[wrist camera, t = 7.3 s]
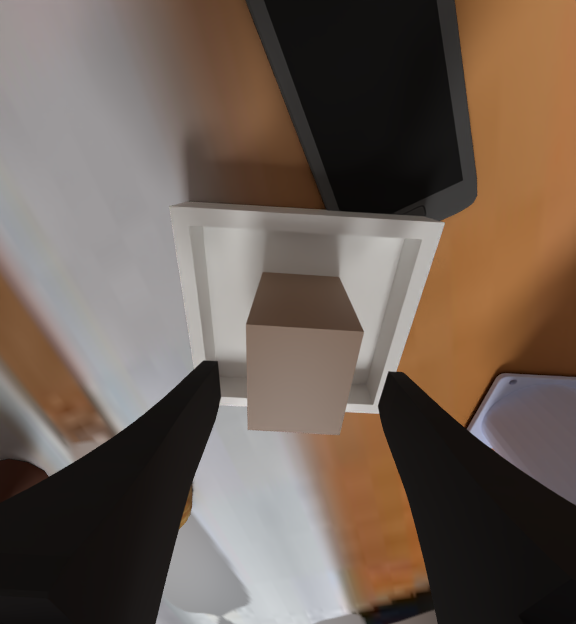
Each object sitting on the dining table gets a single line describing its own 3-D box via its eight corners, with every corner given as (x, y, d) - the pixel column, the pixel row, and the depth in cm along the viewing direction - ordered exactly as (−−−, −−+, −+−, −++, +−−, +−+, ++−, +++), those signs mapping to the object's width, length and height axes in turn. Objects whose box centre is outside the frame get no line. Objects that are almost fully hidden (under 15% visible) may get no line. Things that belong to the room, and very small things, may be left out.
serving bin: (420, 215, 14) (444, 222, 12) (372, 387, 20) (382, 413, 18) (188, 201, 14) (168, 206, 12) (209, 378, 20) (199, 403, 17)
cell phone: (345, 259, 16) (347, 263, 15) (220, -64, 10) (214, -81, 9) (472, 202, 14) (481, 204, 13) (413, -223, 8) (424, -259, 7)
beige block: (339, 276, 15) (363, 331, 10) (325, 358, 18) (339, 435, 13) (262, 271, 15) (245, 324, 10) (261, 354, 18) (247, 429, 12)
